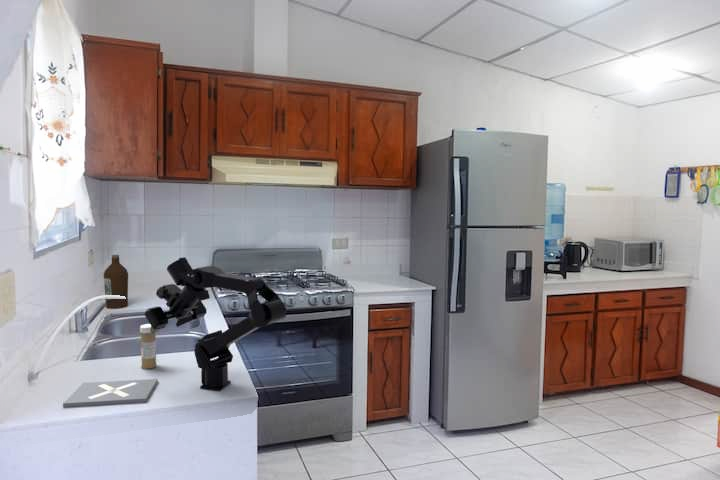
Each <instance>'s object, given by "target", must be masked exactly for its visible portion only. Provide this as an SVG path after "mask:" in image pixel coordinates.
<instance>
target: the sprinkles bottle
mask: <svg viewBox="0 0 720 480" xmlns="http://www.w3.org/2000/svg"><path fill="white" fill-rule="evenodd" d="M150 330H151V325H150V323H146V324H141V325H140V327H139V331H140V356H141V357H140V358H141V368H142V369H145V370H146V369H153V368H155V367H157V341H156V339H157V337H156V332H155V333H153V334H152V333H151V332H150Z"/></svg>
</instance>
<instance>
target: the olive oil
mask: <svg viewBox="0 0 720 480" xmlns="http://www.w3.org/2000/svg"><path fill="white" fill-rule="evenodd" d="M103 286H104V295H120V296H125V297H126V299H106V298H105V307H106V308H107V309H113V310H114V309H116V310H117V309H122V308H127V307H128V305H129V299H128V298H129V297H128V296H129V292H128V291H129V271H128V270H127V269H126V267H125V266H124V265H122V264H121V262H120V255H119V254H112V255H111V263H110V265H109V266H107V268H106V269H105V270H104V273H103Z"/></svg>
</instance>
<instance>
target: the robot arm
mask: <svg viewBox="0 0 720 480" xmlns="http://www.w3.org/2000/svg"><path fill="white" fill-rule="evenodd" d="M166 270H167V272H168V274H169V276H170V277H171V278H172V280H173V281H174V283H170V284H165V285H162V286H159V288H158V289H157V290H156V296H157V297H158V298H159V299H162V300H165V301H166V303H165V305H166V306H167V308H168V309H169V310H168V311H164V309H163V308H162V307H161V306H152V307H149V308H147V309H146V310H145V311H144V316H145V318H146V320H147V321H148V324H150V325H151V330H150V332H151V333H152V334H153V333H155V334H156V333H157V332H159V331H161V330H163V329H165V328H166V327H167V325H168V324H169V321H170V320H173V319H176V320H177V321H176V323H175V325H176V327H178V328H179V327H181V326H184V325H186V324H188V323H191V322H193V321H197V320H198V319H200V318H203V317H205V316H206V314H207V310H208V309H207V307H205V305H204V303H203V302H202V301H205V300H209V299H210V293H209V289H207V288H220V289H223V290H224V289H225V290H230V291H235V292H237V293H244V294H245V296H246V297H247V304H248V309H249V310H250V312H249V315H248V316H247V317H245V318H244V319H242V320H240V321H239V322H238V323H236V324H234V325H233V326H231V327H229V328H228V329H226V330H225V331H222V329H219V330H217V331H214V332H210V333H208V334H205V335H204V336H203V337H202V338H198V339H196V341H197V342H196V344H195V345H194V356H195V360H196V364H197V368H199V369H200V370H201V372H200V373H201V375H200V377H201V384H200V386H199V389H202V390H203V389H204V390H212V391H221V390H223V389H224V388H225V387H227V386H228V385H229V384H230V383H231V380H230V379H229V375H228V374H229V368H228V367H229V365H228V363H231V362H232V361H233V357H234V355H233V354H232V352H231V350H230V349H229V348H230V346H231V345H232V344H234V343H236V342H237V341H239V340H241V339H242V338H244V337H246V336H248V335H250V334H251V333H253V332H255V331H256V330H258V329H260V328H262V327H265V326H267V325H271V324H274V323H277V322H280V321H283V320H284V319H286V317H287V307H286V305H285V303H284V302H283V300H282V299H281V298H280V296H279V295H278V293H277V292H276V291H274V290H273V289H272V288H270V287H269V286H268V285H267V284H266V282H265V281H264V279H262V278H259V277H250V276H244V275H239V274H233V273H228V272H225V271H223V270H222V268H219V267H217V266H214V265H206V266H201V267H200V266H199V267H194V268H193V267H192V266H191V265H190V263H189V262H188V259H187V258H186V257H185V256H184V257H183V256H182V257H179V258H178V259H177V260H175V261H173V262H171V263H170V264H168V266H166ZM179 286H182V287H183V288H182V289H181V288H180V287H179ZM258 295H259V296H260V297H261V298H263V300H265V302H262V303H261V302H260V301H259V298H258Z"/></svg>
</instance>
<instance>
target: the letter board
mask: <svg viewBox="0 0 720 480" xmlns="http://www.w3.org/2000/svg"><path fill="white" fill-rule="evenodd" d="M158 380H159V379H158V378H151V379H147V378H146V379H133V380H131V379H130V380H128V379H127V380H112V381H96V382H95V381H93V382H82V383H81V384H80V386H78V388H77V389H75V391H73V392H72V394H70V396H69V397H67V399H65V401H63V403H62V407H63V408H71V407H72V408H74V407H87V406H88V407H89V406H104V405H105V406H106V405H107V406H108V405H120V404H122V405H123V404H136V403H147V401H148V400H149V398H150V396H151V394H152V393H153V391H154V389H155V387H156V386H157V384H158V382H159V381H158Z"/></svg>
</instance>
